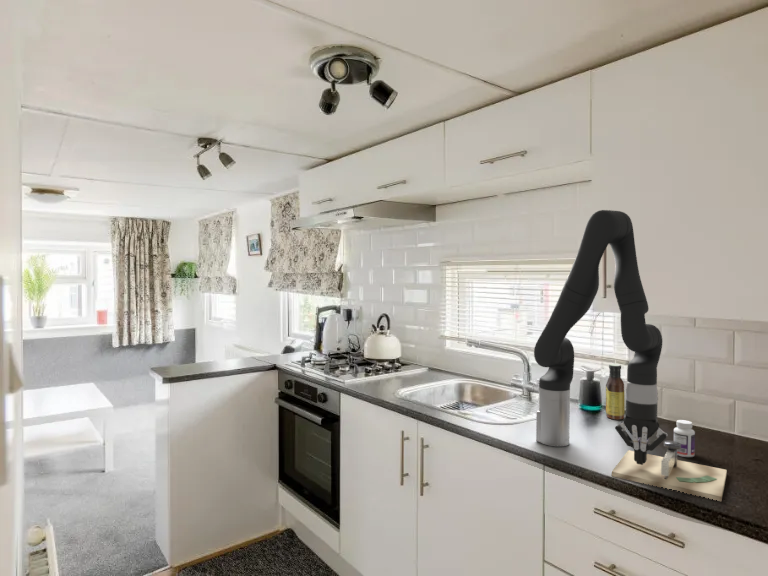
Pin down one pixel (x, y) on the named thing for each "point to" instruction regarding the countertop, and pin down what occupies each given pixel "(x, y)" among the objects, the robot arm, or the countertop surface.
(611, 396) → the sauce bottle
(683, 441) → the pill bottle
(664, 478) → the board
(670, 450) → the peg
